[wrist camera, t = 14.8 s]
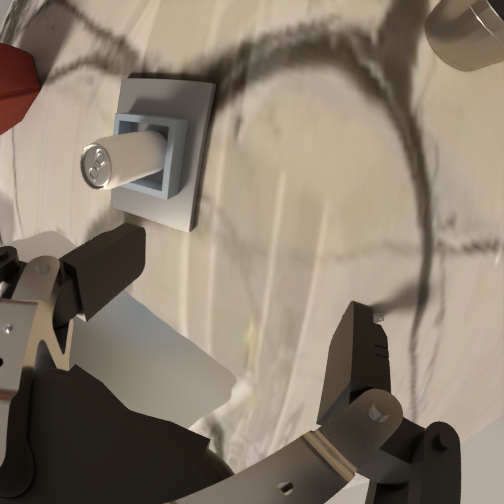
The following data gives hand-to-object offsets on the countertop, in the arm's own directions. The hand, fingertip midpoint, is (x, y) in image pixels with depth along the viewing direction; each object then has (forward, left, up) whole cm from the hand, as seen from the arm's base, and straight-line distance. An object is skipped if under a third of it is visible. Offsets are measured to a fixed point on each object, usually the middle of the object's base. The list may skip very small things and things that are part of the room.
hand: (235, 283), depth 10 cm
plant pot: (-8, -67, -28) cm, 73 cm away
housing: (+3, -23, -28) cm, 36 cm away
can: (+3, -23, -27) cm, 35 cm away
